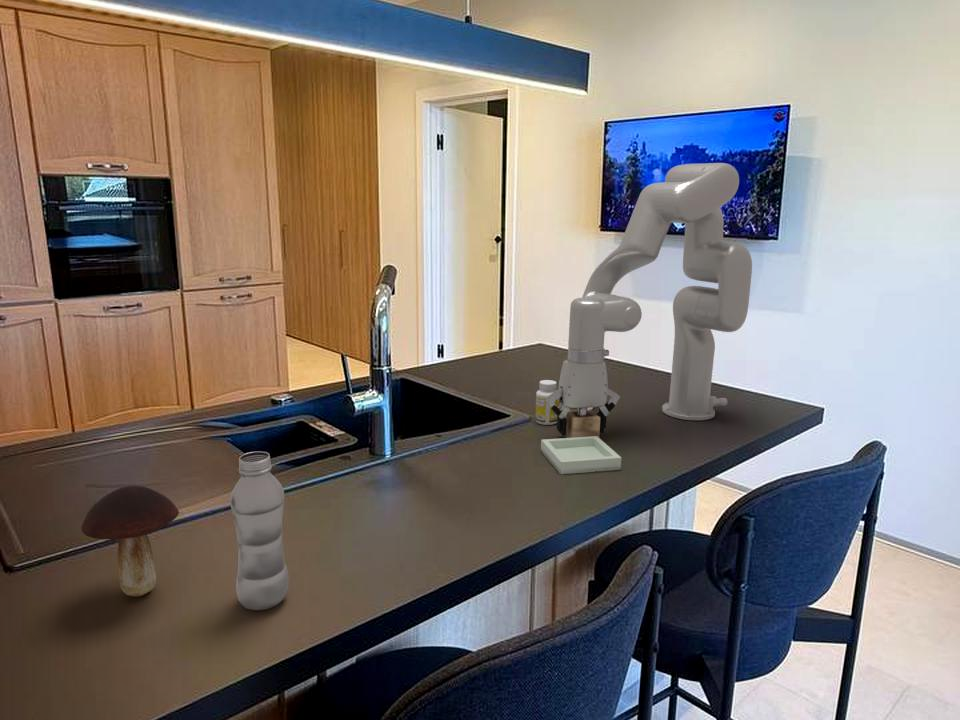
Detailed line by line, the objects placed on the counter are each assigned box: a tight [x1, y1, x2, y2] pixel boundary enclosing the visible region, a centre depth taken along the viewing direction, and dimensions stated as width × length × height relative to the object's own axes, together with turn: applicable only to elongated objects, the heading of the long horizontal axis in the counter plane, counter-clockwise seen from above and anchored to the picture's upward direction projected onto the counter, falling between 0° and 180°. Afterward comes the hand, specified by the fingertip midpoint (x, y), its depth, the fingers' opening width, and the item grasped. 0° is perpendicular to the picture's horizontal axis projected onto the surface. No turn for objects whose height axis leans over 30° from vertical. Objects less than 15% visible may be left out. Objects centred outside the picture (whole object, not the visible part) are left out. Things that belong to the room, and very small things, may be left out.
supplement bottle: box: [535, 379, 560, 426], centre depth 157 cm, size 5×5×10 cm
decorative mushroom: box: [80, 485, 180, 598], centre depth 86 cm, size 11×11×15 cm
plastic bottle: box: [229, 450, 290, 611], centre depth 84 cm, size 6×7×20 cm
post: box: [577, 408, 587, 417], centre depth 146 cm, size 2×2×10 cm
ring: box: [565, 409, 601, 438], centre depth 147 cm, size 6×8×6 cm
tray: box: [540, 436, 622, 475], centre depth 135 cm, size 12×12×2 cm
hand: (581, 432), depth 147 cm, fingers open, 8 cm apart
